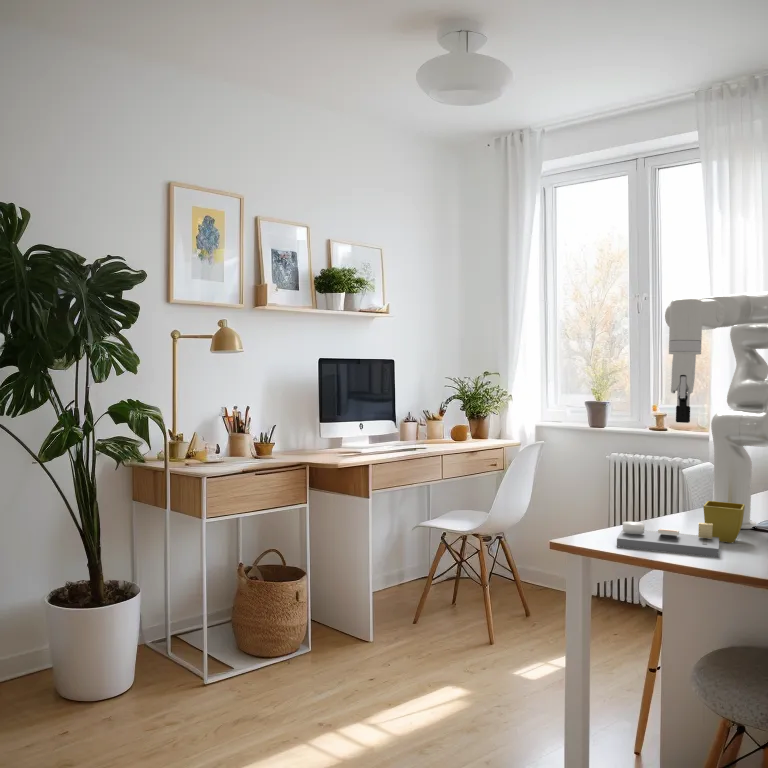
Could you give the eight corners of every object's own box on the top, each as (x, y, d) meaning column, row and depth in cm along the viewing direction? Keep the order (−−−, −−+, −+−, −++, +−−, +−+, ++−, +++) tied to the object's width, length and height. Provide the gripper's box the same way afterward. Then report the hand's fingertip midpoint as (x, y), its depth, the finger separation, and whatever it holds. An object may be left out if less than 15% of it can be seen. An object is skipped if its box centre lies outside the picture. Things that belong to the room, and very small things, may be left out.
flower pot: (741, 546, 185) (742, 508, 185) (702, 541, 189) (703, 505, 189) (744, 539, 193) (745, 504, 193) (706, 535, 197) (707, 500, 197)
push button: (623, 529, 190) (624, 520, 190) (645, 531, 188) (645, 522, 188) (621, 532, 185) (621, 524, 185) (643, 534, 183) (643, 526, 183)
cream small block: (698, 535, 184) (698, 522, 184) (712, 537, 183) (712, 523, 183) (698, 537, 182) (698, 523, 182) (712, 538, 181) (712, 525, 181)
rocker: (659, 531, 187) (659, 528, 187) (679, 533, 185) (679, 530, 185) (657, 533, 181) (658, 529, 181) (677, 535, 179) (678, 531, 180)
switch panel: (623, 535, 194) (623, 525, 194) (718, 545, 185) (719, 534, 185) (616, 546, 181) (616, 535, 181) (718, 557, 172) (719, 546, 172)
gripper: (670, 349, 199) (668, 420, 199) (666, 347, 186) (664, 423, 186) (701, 349, 196) (699, 421, 196) (700, 347, 183) (698, 424, 183)
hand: (682, 422), depth 191 cm, fingers closed
